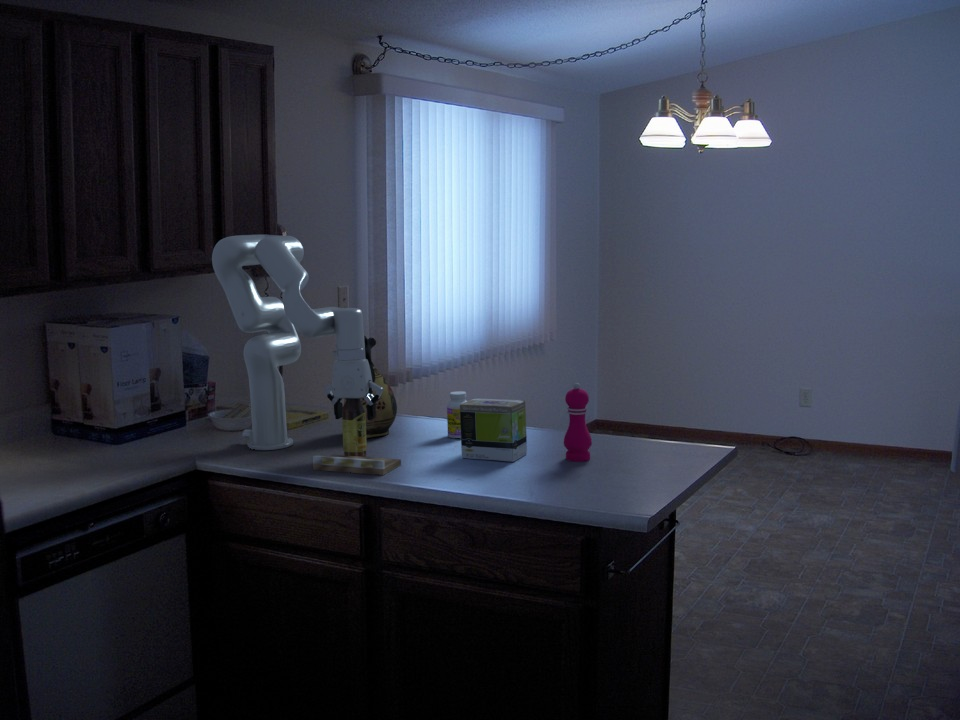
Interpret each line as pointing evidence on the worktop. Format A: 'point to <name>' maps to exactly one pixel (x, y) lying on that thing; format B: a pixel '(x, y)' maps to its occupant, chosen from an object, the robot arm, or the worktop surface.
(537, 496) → the worktop surface
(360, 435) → the sauce bottle
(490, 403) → the tea box
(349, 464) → the tan white-edged panel
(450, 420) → the supplement bottle
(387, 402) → the ceramic jug
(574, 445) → the pepper mill
